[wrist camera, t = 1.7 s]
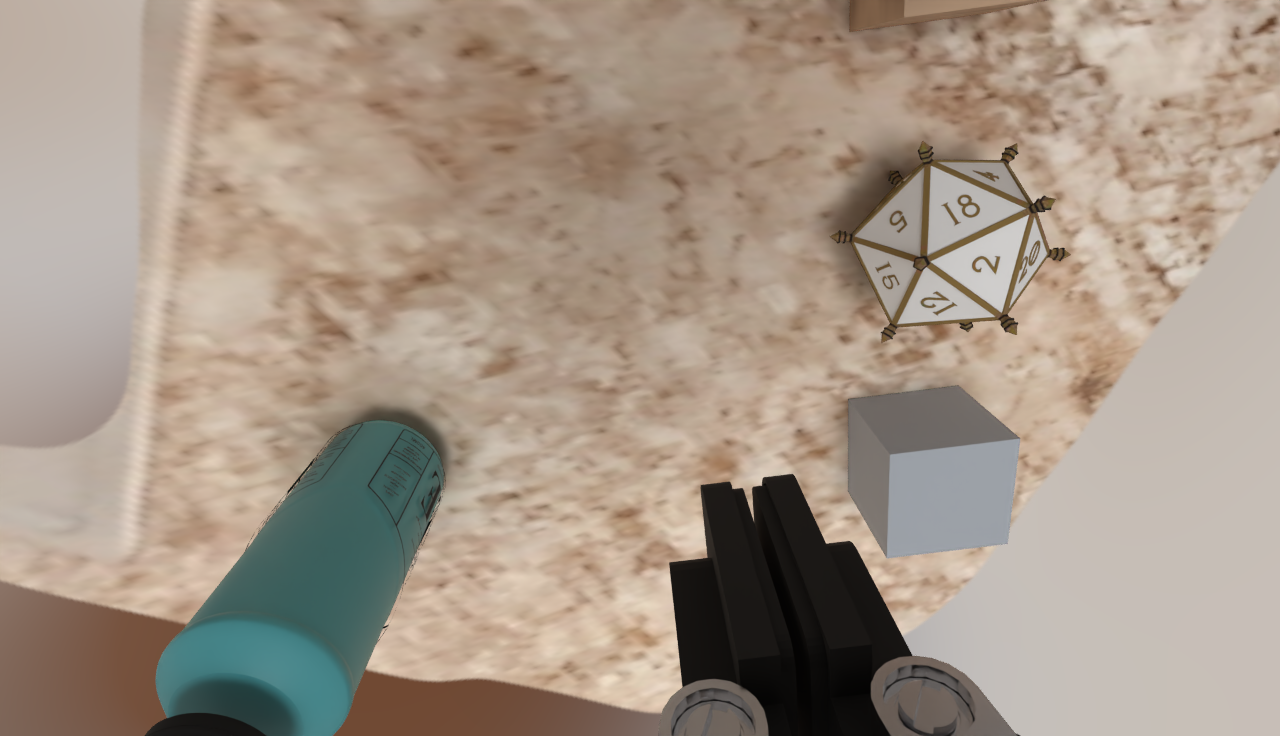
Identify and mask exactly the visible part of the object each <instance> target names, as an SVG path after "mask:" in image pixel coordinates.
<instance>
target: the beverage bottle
mask: <svg viewBox="0 0 1280 736" xmlns="http://www.w3.org/2000/svg"><path fill="white" fill-rule="evenodd" d="M349 427H350V426H349ZM347 428H348V427H347ZM344 429H345V428H344ZM342 430H343V429H342ZM339 432H340V431H339ZM337 433H338V432H337ZM337 435H338V434H337ZM332 437H333V436H332ZM332 437H331V438H332ZM331 438H330V439H331ZM331 440H332V439H331ZM331 440H330V441H331ZM328 441H329V440H328ZM327 443H328V442H327ZM327 443H326V444H327ZM325 448H326V447H325ZM322 449H323V448H322ZM320 451H321V450H320ZM318 454H319V453H318ZM318 454H317V455H316V456H318ZM319 456H320V457H319V458H318V457H316V458H318V459H317V460H315V461H316V462H315V461H314V459H315V458H314V459H313V461H314V463H313V461H312V462H311V463H310V464H309V466H308V467H307V468H306V469H305V471H304V472H303V473H302V474H301V476H300V477H299V478H298V479H297V480H296V482H295V483H294V484H293V485H292V487H291V488H290V489H289V490H288V493H289V492H290V491H291V490H292V489H293V488H294V489H293V490H292V492H291V493H290V494H289V495H288V497H287V495H286V497H287V498H286V499H285V500H284V502H283V503H282V502H281V503H282V504H281V503H280V501H281V500H280V501H279V503H280V504H281V506H280V507H279V508H278V509H277V508H276V512H275V513H274V514H273V515H272V517H271V518H270V517H269V518H270V519H269V518H267V520H268V519H269V521H268V522H267V520H265V521H266V523H265V526H264V527H263V525H264V523H263V525H262V527H263V528H262V529H261V531H260V532H259V531H258V532H259V533H258V535H257V536H256V538H255V539H254V541H253V542H252V544H251V545H250V546H249V547H248V546H247V547H248V549H247V548H246V549H247V550H245V552H244V554H243V555H242V556H241V557H240V559H239V560H238V561H237V563H236V564H235V565H234V566H233V568H232V569H231V570H230V571H229V573H228V574H227V575H226V576H225V578H224V579H223V580H222V581H221V583H220V584H219V585H218V586H217V588H216V589H215V590H214V592H213V593H212V594H211V595H210V597H209V598H208V599H207V600H206V602H205V603H204V604H203V605H202V607H201V608H200V609H199V610H198V612H197V613H196V614H195V615H194V617H193V618H192V619H191V621H190V622H189V623H188V624H187V626H186V627H185V628H184V629H183V631H181V632H180V633H179V634H178V635H177V636H176V637H175V638H174V639H173V640H172V641H171V642H170V643H169V645H168V646H167V647H166V649H165V650H164V652H163V653H162V656H161V658H160V661H159V663H158V667H157V672H156V688H157V693H158V696H159V699H160V702H161V704H162V707H163V709H164V711H165V714H166V716H167V718H166V719H164V720H162V721H160V722H158V723H157V724H155V725H154V726H153V727H152V728H151V729H150V730H149V731H148V732H147V733H146V735H145V736H332V735H333V734H334V733H335V732H337V730H338V729H339V728H340V726H341V725H342V724H343V723H344V721H345V719H346V717H347V715H348V713H349V711H350V708H351V705H352V702H353V697H354V694H355V692H356V689H357V687H358V685H359V682H360V680H361V678H362V675H363V673H364V671H365V668H366V666H367V664H368V661H369V659H370V657H371V654H372V652H373V650H374V647H375V645H376V644H377V640H378V638H379V636H380V633H381V631H382V629H383V628H385V627H388V625H389V624H388V625H387V626H385V627H383V626H384V624H385V622H386V620H387V619H388V617H389V615H390V612H391V610H392V608H393V605H394V603H395V601H396V598H397V596H398V594H399V591H400V589H401V587H402V584H404V580H405V577H406V575H407V572H408V570H409V568H410V565H411V563H412V561H413V558H415V554H416V553H417V549H418V547H419V545H420V543H421V541H422V539H423V537H424V535H425V533H426V531H427V529H428V527H429V525H430V523H431V521H432V519H433V518H432V519H431V521H430V522H429V520H430V518H431V517H432V513H433V512H434V511H435V510H436V509H435V506H436V504H437V501H438V499H439V501H440V499H441V496H440V494H441V491H442V488H443V490H445V489H444V487H443V483H444V476H445V473H444V475H443V471H444V469H443V466H442V462H441V459H440V457H439V454H438V453H437V451H436V449H435V448H434V447H433V445H432V444H431V443H430V442H429V441H428V440H427V439H426V438H425V437H424V436H423V435H422V434H420V433H419V432H417V431H416V430H414V429H412V428H410V427H408V426H406V425H403V424H400V423H397V422H392V421H385V420H373V421H367V422H363V423H360V424H355V426H354V425H352V427H350V428H348V429H346V430H345V431H343V432H342V433H341V432H340V433H339V435H338V436H336V437H335V439H333V441H332V442H331V443H330V444H328V446H327V448H326V449H324V452H322V454H321V455H319ZM312 463H313V465H312ZM310 466H312V467H311V468H310V469H309V470H308V472H307V473H306V474H305V475H304V477H303V478H302V479H301V480H300V478H301V477H302V476H303V474H304V473H305V472H306V471H307V469H308V468H309V467H310ZM298 481H300V482H298ZM297 482H298V484H297V485H296V487H294V486H295V484H296V483H297ZM288 493H287V494H288ZM284 496H285V495H284ZM439 497H440V498H439ZM439 501H438V502H439ZM439 505H440V503H439ZM439 505H438V507H439ZM276 506H277V505H276ZM276 506H275V507H276ZM434 509H435V510H434ZM437 510H438V508H437ZM272 511H273V510H272ZM272 511H271V512H272ZM274 511H275V510H274ZM434 513H435V512H434ZM435 514H436V513H435ZM434 517H435V516H434ZM263 521H264V520H263ZM432 522H433V521H432ZM431 524H432V523H431ZM257 529H258V528H257ZM429 529H430V528H429ZM427 534H428V533H427ZM253 535H254V534H253ZM426 536H427V535H426ZM252 537H253V536H252ZM251 539H252V538H251ZM425 539H426V538H425ZM424 541H425V540H424ZM248 545H249V543H248ZM421 545H422V543H421ZM422 546H423V545H422ZM418 550H419V549H418ZM418 554H419V552H418ZM416 557H417V556H416ZM416 560H417V559H416ZM414 561H415V559H414ZM415 562H416V561H415ZM414 565H415V564H414ZM414 565H412V566H413V567H414ZM410 569H411V568H410ZM412 570H413V568H412ZM410 574H411V573H410ZM409 577H410V576H409ZM408 579H409V578H408ZM402 590H403V588H402ZM400 597H401V596H400ZM397 606H398V605H397ZM395 611H396V610H395ZM385 631H386V630H385ZM383 634H384V633H383ZM381 637H382V636H381ZM379 640H380V639H379ZM379 640H378V641H379Z"/></svg>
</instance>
